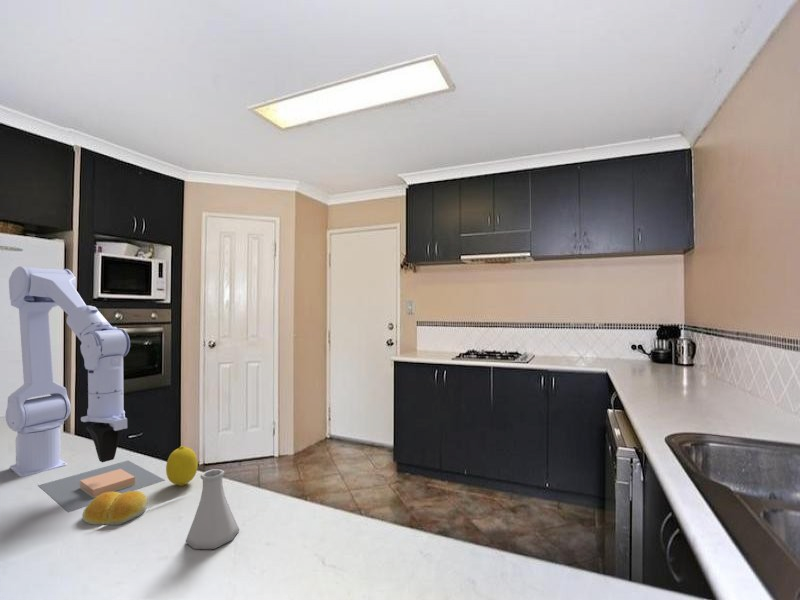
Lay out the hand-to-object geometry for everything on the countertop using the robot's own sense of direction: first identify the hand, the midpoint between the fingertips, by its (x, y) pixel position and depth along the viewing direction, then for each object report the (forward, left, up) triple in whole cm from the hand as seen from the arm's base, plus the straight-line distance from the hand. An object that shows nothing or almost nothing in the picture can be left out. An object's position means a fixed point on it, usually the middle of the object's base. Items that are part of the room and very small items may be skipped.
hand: (106, 460), depth 83 cm
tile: (-3, 0, -4) cm, 5 cm away
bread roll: (+13, -3, -6) cm, 15 cm away
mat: (-2, 0, -5) cm, 6 cm away
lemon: (+12, +9, -6) cm, 16 cm away
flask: (+34, +3, -6) cm, 34 cm away
